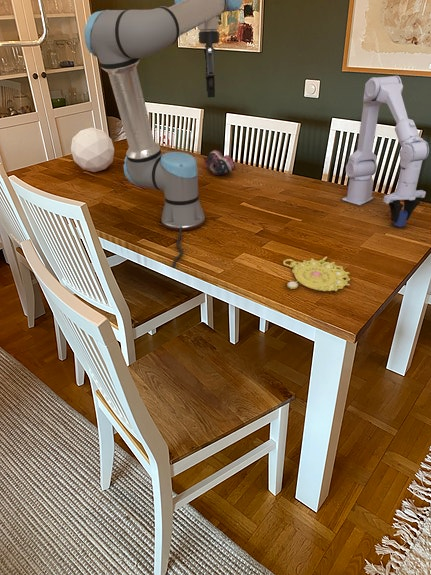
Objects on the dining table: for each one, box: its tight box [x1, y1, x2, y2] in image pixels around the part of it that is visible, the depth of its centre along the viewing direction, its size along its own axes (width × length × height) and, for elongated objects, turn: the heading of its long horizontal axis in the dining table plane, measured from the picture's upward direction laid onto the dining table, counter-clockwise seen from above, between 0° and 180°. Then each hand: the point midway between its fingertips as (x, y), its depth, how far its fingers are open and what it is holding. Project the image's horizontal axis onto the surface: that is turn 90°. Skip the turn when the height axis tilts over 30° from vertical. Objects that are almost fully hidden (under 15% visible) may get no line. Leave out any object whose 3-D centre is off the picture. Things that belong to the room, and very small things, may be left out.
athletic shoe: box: [201, 149, 237, 176], centre depth 198 cm, size 11×22×12 cm
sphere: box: [70, 126, 115, 173], centre depth 204 cm, size 19×20×20 cm
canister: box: [392, 209, 408, 228], centre depth 147 cm, size 4×4×4 cm
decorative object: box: [282, 255, 351, 292], centre depth 122 cm, size 21×2×20 cm
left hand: (210, 94), depth 171 cm, fingers open, 13 cm apart
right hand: (399, 220), depth 148 cm, fingers closed on canister, 4 cm apart
